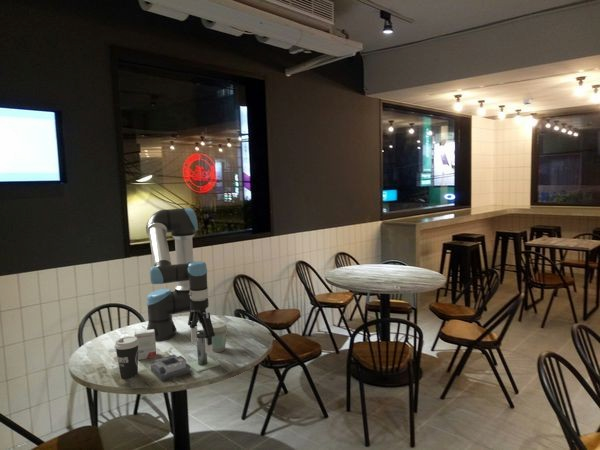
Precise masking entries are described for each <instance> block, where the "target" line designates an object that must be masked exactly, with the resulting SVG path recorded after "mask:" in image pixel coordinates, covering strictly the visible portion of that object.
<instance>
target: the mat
mask: <svg viewBox="0 0 600 450" xmlns="http://www.w3.org/2000/svg"><path fill="white" fill-rule="evenodd" d="M207 360H208V364H206V365H203V366H200V365H198V359H197V360H193V361H190V362H186V364H188V365H189V366H190V369H192V370H194V371H195V372H196V373H200V372H202V371H205V370H209V369H212V368H214V367H217V366H218V367H219V366H220V363H218V362H217V361H215V360H214V359H212V358H211V357H209V356H207Z"/></svg>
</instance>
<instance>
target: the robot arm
mask: <svg viewBox="0 0 600 450" xmlns="http://www.w3.org/2000/svg"><path fill="white" fill-rule="evenodd" d="M145 225H146V227H145V232H146V235H147V237H148V239H149V245H150V250H151V257H152V259H151V260H152V265H153V266H150V268H149V278H150V279H149V281H150V284H152V285H162V284H163V285H164V284H170V283H177V284H176V285H175V286H174V290H173V291H172V290H171V289H170V288H160V289H157V290H154V291H151V292H150V293H149V294H148V295H147V296H146V306H147V319H148V324H147V327H146V330H151V329H154V330H155V342H159V341H160V342H161V341H166V340H169V339H172V338H174V337H176V336H177V333H178V331H177V327H176V325H175V322H174V321H173V315H177V314H185V313H189V316H188V320H187V321H188V322H187V325H188V326H189V328H190V338H191V340H190V341H191V342H190V343H191V344H195V343H197V337H196V332H197V331H198V324H201V326H202V330H204V332H205V335H206V336H205V347H206V353H207V354H208V353H211V352H213V350H212V337H213V336H215V334H214V330H213V326H212V320H211V313H210V312H207V311H206V309H208V308H209V307H210V306H209V288H208V268H207V263H206V262H205V261H200V260H197V261H194V250H193V249H194V247H193V237H194V236H195V235H196V232H197V231H199V224H198V219H197V216H196V212H195V210H194V209H193V208H189V207H188V208H186V207H185V208H183V207H182V208H171V209H165V208H164V209H161V210H158V211H156V212H154V213H153V214H152V215H151V216H150V217H149V218H148V220H147V222H146V224H145ZM168 233H170V234H171V237H172V238H174V246H175V247H174V248H175V263H176V264H172V260H171V255H170V250H169V244H168V239H167V234H168ZM198 322H199V323H198Z"/></svg>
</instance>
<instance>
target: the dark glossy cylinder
mask: <svg viewBox="0 0 600 450" xmlns="http://www.w3.org/2000/svg"><path fill="white" fill-rule="evenodd" d="M205 336H206V335H205V332H204V330H203V329H201V330H197V332H196V337H197V342H196V352H197V360H198V365H200V366H203V365H206V364H208V360H207V357H208V353H206V347H205Z"/></svg>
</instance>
